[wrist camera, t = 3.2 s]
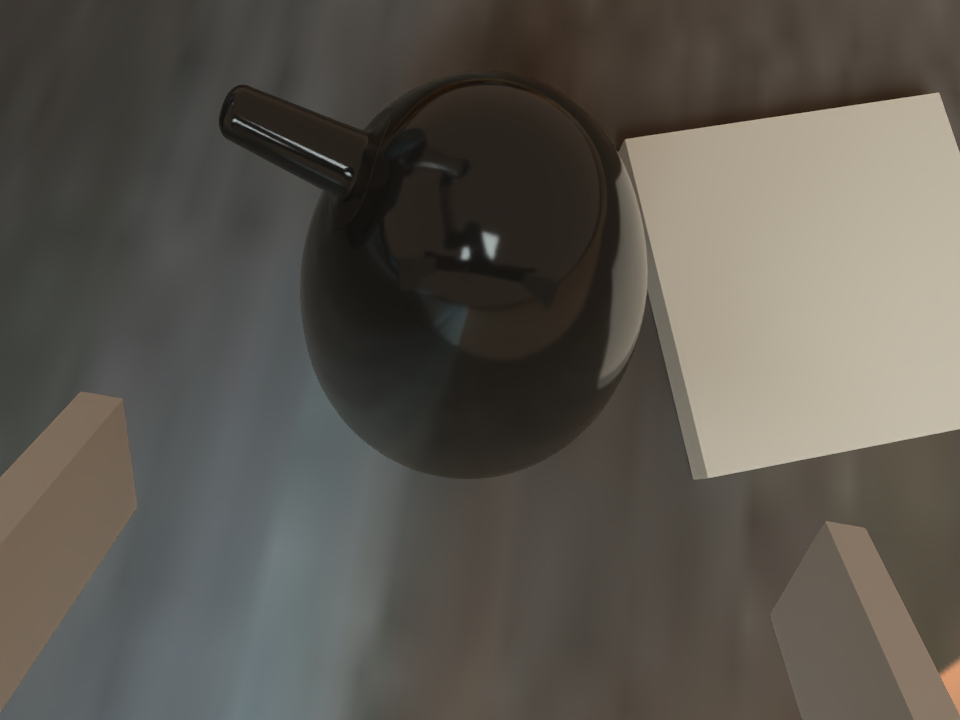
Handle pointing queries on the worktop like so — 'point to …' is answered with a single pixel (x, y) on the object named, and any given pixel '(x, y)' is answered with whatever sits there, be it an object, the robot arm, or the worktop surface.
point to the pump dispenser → (462, 266)
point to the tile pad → (805, 279)
